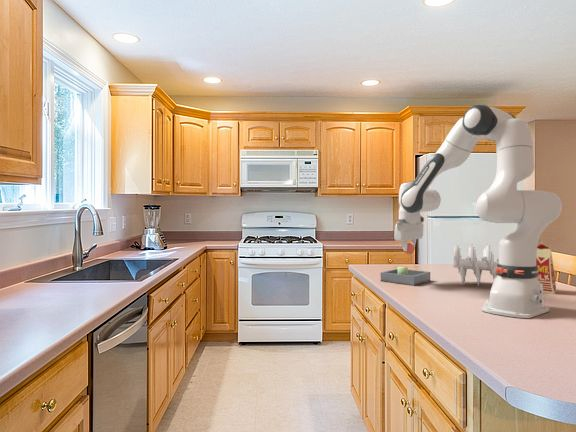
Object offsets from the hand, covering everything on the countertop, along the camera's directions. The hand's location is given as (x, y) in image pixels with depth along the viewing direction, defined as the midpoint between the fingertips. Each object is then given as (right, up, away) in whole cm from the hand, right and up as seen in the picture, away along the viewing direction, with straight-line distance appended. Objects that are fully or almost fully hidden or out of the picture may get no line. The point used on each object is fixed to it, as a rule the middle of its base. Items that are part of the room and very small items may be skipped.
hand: (408, 250), depth 183 cm
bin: (0, -14, +4) cm, 15 cm away
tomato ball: (0, -2, 0) cm, 2 cm away
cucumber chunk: (-1, -14, +7) cm, 15 cm away
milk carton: (+48, -15, -17) cm, 53 cm away
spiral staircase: (+31, -15, -6) cm, 35 cm away
